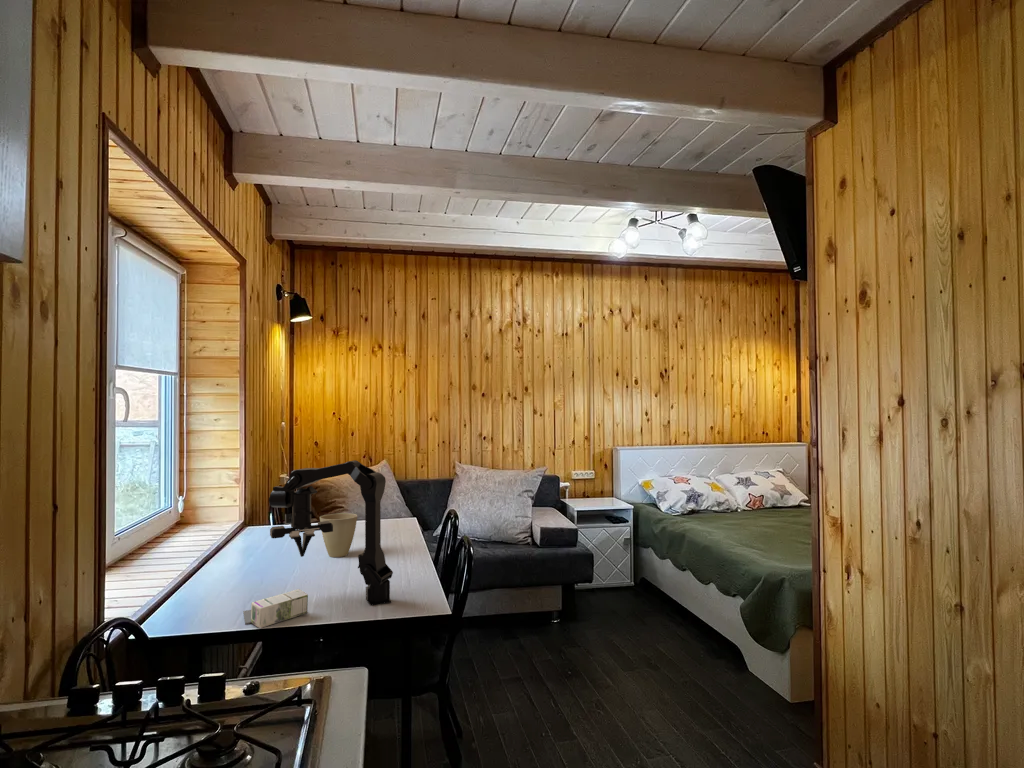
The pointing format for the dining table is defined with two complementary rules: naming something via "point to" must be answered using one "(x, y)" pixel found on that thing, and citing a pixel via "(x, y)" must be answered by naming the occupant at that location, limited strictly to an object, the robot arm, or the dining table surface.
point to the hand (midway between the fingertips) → (302, 556)
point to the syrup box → (279, 608)
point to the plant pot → (339, 533)
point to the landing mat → (248, 616)
